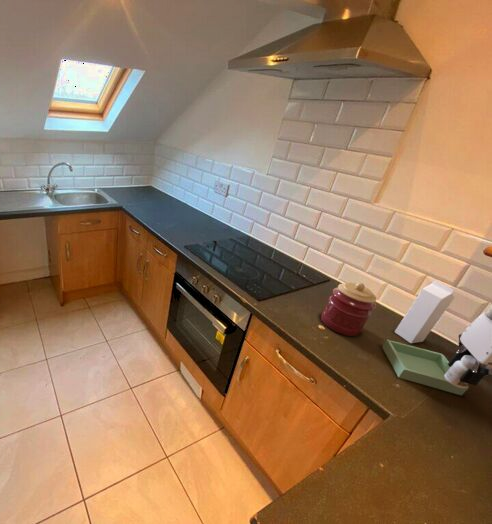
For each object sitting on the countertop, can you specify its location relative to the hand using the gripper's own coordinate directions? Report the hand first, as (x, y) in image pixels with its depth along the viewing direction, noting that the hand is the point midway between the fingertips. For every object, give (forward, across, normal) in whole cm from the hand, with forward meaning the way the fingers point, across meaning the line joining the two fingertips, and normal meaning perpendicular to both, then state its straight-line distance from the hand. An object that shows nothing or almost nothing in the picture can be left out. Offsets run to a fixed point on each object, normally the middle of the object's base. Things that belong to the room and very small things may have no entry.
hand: (461, 374), depth 76 cm
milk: (+11, +31, -5) cm, 33 cm away
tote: (+11, +13, -1) cm, 17 cm away
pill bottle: (+3, 0, 0) cm, 3 cm away
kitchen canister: (+11, +27, +18) cm, 34 cm away
